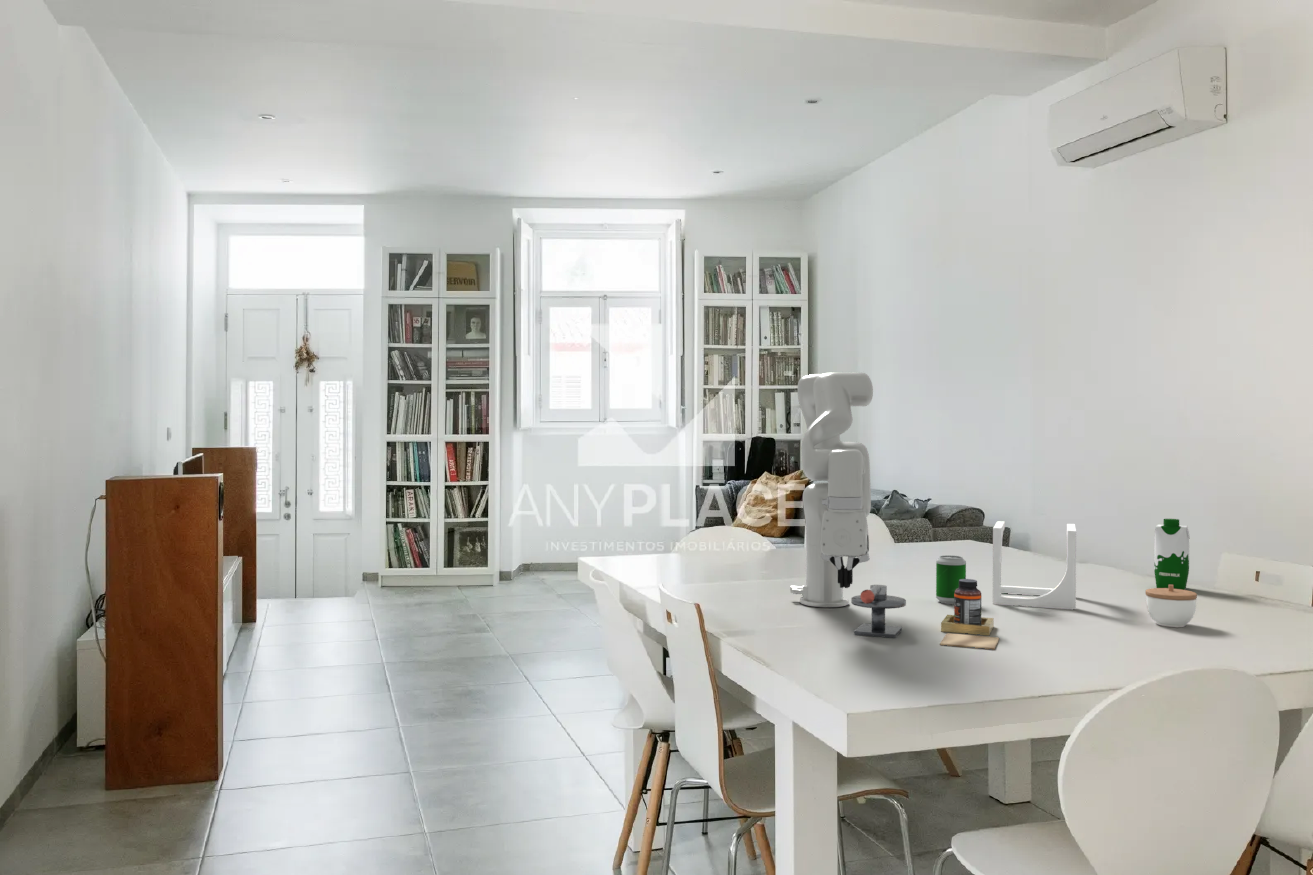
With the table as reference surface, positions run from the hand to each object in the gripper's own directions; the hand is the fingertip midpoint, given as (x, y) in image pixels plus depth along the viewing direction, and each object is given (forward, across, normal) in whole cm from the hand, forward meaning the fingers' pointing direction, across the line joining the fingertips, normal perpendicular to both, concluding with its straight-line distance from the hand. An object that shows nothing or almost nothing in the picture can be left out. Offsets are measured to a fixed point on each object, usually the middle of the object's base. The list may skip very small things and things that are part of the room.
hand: (845, 586), depth 219 cm
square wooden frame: (+10, +24, +18) cm, 32 cm away
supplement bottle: (+11, +24, +18) cm, 32 cm away
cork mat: (+11, +26, +4) cm, 29 cm away
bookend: (+10, +36, +64) cm, 74 cm away
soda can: (+10, +16, +52) cm, 55 cm away
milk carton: (+10, +71, +101) cm, 124 cm away
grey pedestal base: (+11, +6, +6) cm, 14 cm away
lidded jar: (+11, +67, +43) cm, 80 cm away
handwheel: (+4, +6, +2) cm, 8 cm away
